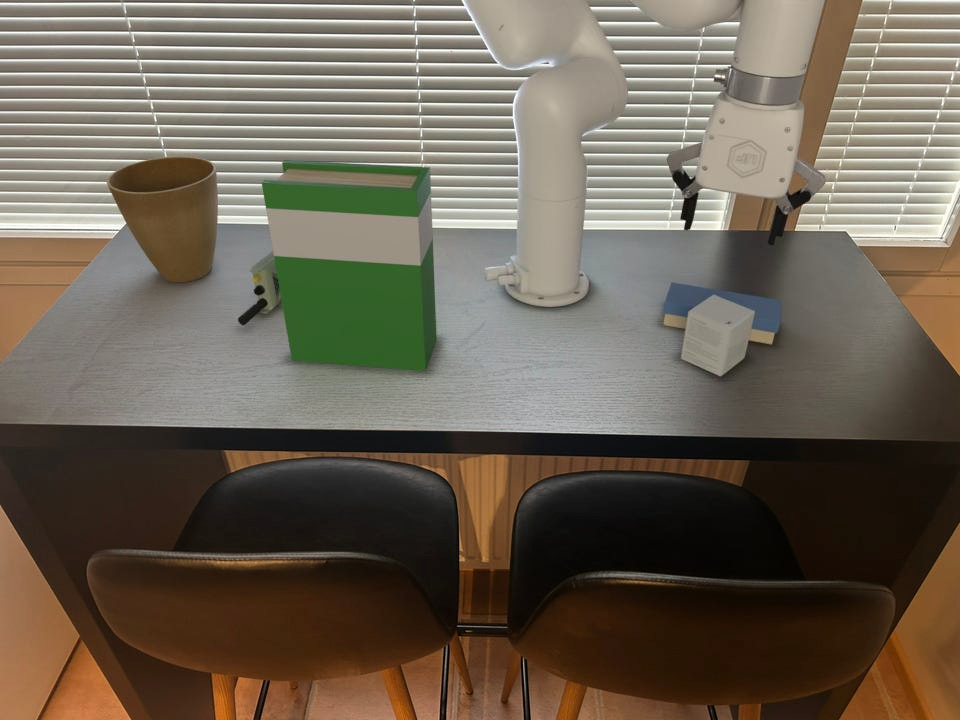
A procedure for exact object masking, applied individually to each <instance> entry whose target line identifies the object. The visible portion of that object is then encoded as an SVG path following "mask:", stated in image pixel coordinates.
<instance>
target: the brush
mask: <svg viewBox="0 0 960 720" xmlns="http://www.w3.org/2000/svg"><path fill="white" fill-rule="evenodd" d="M712 295H716V296H719V297H721V298H723V299H726V300H728V301H731V302H733V303H736V304H738V305H741V306H743V307H746V308H748V309H751V310H754V311H755V314H754V319H753V323H752V328H751V332H750V336H749V342H756V343H762V344H767V345H773V342H774V339H775V335H776V334H779V333H778V332H779V329H780V325H781V318H782V308H783V307H782V306H783V300H782V299H781V300H780V299H776V298H770V297H764V296H759V295H757V296H756V295H752V294H751V295H750V294H745V293H741V292H740V293H739V292H733V291H728V290H727V291H726V290H721V289H714V288H709V287H702V286H697V285H691V284H684V283H679V282H674V281H673V282H671V281H670V284H669V287H668V290H667V293H666V296H665V300H664V304H663V310H662V314H664V318H663V324H662V325H663V326H667V327H672V328H678V329H684V330H685V329H686V323H687V317H688V311H690V310H691V309H693V308H694V307H696V306H697V305H699V304H700V303H702V302H703V301H705V300H706V299H708V298H709V297H711V296H712Z"/></svg>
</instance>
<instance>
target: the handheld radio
mask: <svg viewBox="0 0 960 720" xmlns="http://www.w3.org/2000/svg"><path fill="white" fill-rule="evenodd" d="M249 272H250V273H251V274H252V278H251V279H252V282H254V289H253V293H254V294H255V295H256V296H257V302H256V303H255V304H253V305H252V306H251V307H249V308H248V309H247V310H246V311H245V312H243V313H242V314H241V315H240V316H239V317H238V318H237V323H238V324H239V325H240V326H245V325H247V324H248V323H249V322H250V321H251V320H253V318H254V317H256V316H257V315H258V314H264V315H267V314H269V313H270V312H271V311H273V309H275V308H276V307H277V306H278V305H280V303H282V300H281V294H280V288H279V282H278V276H277V270H276V264H275V259H274V253H273V250H272V251H269V253H268V254H267V255H265V256H264V257H263V258H261V259H260V260H259V261H258V262H256V263H255V264H254V265H252V266H251V269H250V270H249Z"/></svg>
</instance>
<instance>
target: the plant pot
mask: <svg viewBox="0 0 960 720" xmlns="http://www.w3.org/2000/svg"><path fill="white" fill-rule="evenodd" d="M217 176H218V175H217V167H216V165H215V163H214V162H212V161H211V160H209V159H205V158H202V157H196V156H185V155H183V156H181V155H179V156H165V157H164V156H163V157H154V158H150V159H145V160H140V161H137V162H134V163H130V164H127V165H125V166H123V167H121V168H118V169H117V170H115V171H113V172H112V173H111V174H109V175H108V176H107V178H106V185H107V186H108V189H109V192H110V193H111V196H112V197H113V199H114V201H115V203H116V206H117V208H118V211H119V212H120V214H121V216H122V218H123V220H124V222H125V223H126V225H127V227H128V229H129V231H130V232H131V234H132V235H133V237H134V239H135V240H136V242H137V244H138V246H139V247H140V249H141V250H142V252H143V253H144V254H145V256H146V257H147V258H148V260H149V261H150V262H151V264H152V266H153V267H154V269H155V270H157V272H158V273H159V274H160V276H161V277H162V278H163V279H164V280H166V281H167V282H172V283H188V282H192V281H197V280H199V279H202V278H204V277H206V276H207V275H208V274H210V272H211V271H212V268H213V263H214V257H215V252H216V245H217V234H218V220H219V219H218V218H219V217H218V215H219V193H218V177H217Z"/></svg>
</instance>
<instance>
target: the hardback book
mask: <svg viewBox="0 0 960 720" xmlns="http://www.w3.org/2000/svg"><path fill="white" fill-rule="evenodd" d="M281 163H282V164H281V165H282V171H283V173H282V174H281V175H280V176H279V177H278V178H277V179H276V180H271V179H264V180H263V181H262V182H261V187H262V193H263V199H264V205H265V211H266V218H267V221H268V228H269V234H270V240H271V246H272V251H273V253H274V259H275V264H276V270H277V276H278V282H279V288H280V294H281V300H282V301H281V305H282V311H283V316H284V323H285V328H286V334H287V339H288V346H289V352H290V359H291V361H295V362H307V363H317V364H318V363H321V364H333V365H344V366H354V367H355V366H357V367H369V368H380V369H393V370H404V371H415V372H427V369H428V366H429V363H430V361H431V357H432V354H433V352H434V349H435V346H436V343H437V339H438V338H437V337H438V336H437V314H436V313H437V312H436V289H435V263H434V261H435V260H434V259H435V258H434V236H433V211H432V209H433V208H432V185H431V184H432V182H431V179H432V178H431V167H428V166H410V165H409V166H408V165H390V164H369V163H351V162H334V161H333V162H332V161H331V162H329V161H311V160H309V161H308V160H295V159H293V160H292V159H285V160H283V161H282V162H281Z"/></svg>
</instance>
